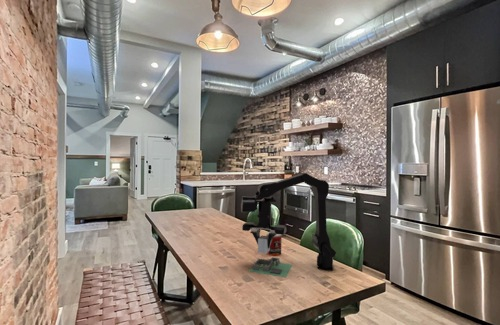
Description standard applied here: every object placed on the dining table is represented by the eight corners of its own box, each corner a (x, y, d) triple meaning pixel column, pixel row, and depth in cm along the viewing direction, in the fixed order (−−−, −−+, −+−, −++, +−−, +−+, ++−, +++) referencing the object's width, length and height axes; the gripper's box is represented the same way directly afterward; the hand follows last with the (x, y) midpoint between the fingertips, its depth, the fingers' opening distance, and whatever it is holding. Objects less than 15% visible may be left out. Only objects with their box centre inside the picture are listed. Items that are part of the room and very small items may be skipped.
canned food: (269, 258, 137) (269, 236, 137) (263, 253, 145) (264, 232, 145) (283, 257, 139) (284, 235, 139) (277, 252, 147) (278, 231, 147)
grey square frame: (273, 265, 126) (273, 260, 126) (268, 271, 118) (268, 267, 118) (258, 263, 128) (258, 258, 128) (252, 269, 121) (253, 264, 121)
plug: (269, 250, 125) (270, 236, 125) (266, 254, 119) (266, 239, 119) (261, 249, 126) (261, 235, 126) (257, 252, 121) (257, 238, 121)
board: (292, 266, 127) (292, 260, 127) (285, 279, 113) (285, 272, 113) (259, 261, 132) (259, 255, 132) (248, 273, 118) (248, 266, 118)
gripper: (289, 210, 128) (288, 244, 128) (250, 207, 134) (249, 240, 134) (284, 215, 117) (283, 252, 117) (242, 211, 123) (241, 247, 123)
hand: (263, 247), depth 123 cm, fingers closed on plug, 4 cm apart
